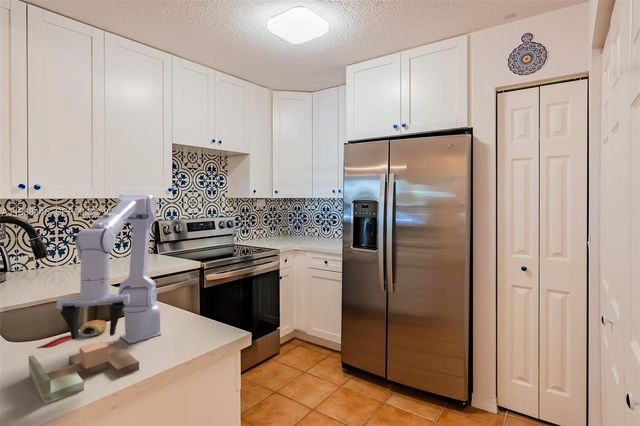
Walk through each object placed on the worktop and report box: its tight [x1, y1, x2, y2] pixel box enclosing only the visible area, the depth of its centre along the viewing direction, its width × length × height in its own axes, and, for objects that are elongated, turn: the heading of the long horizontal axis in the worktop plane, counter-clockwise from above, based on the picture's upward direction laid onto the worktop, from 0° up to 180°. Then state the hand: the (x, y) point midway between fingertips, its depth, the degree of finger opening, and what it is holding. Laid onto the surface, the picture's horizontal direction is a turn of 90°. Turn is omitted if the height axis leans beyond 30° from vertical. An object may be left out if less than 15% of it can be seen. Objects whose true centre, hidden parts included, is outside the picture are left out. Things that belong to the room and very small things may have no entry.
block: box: [79, 340, 109, 369], centre depth 87 cm, size 5×4×4 cm
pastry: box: [78, 319, 107, 338], centre depth 111 cm, size 9×7×4 cm
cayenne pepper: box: [36, 334, 81, 349], centre depth 103 cm, size 12×5×2 cm, turn 129°
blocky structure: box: [27, 342, 140, 405], centre depth 85 cm, size 19×16×5 cm
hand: (94, 336), depth 82 cm, fingers open, 7 cm apart
